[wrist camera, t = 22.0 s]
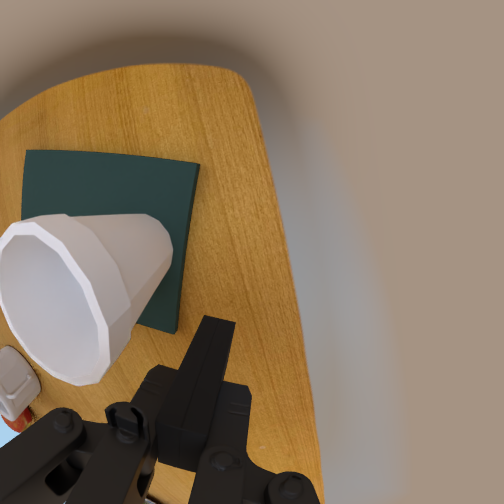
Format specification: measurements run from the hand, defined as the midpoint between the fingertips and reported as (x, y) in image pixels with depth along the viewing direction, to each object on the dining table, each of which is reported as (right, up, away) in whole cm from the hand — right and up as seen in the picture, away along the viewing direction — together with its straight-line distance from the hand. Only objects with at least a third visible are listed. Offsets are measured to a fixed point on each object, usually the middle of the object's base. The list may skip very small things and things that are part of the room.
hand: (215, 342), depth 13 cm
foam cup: (-8, +5, +11) cm, 14 cm away
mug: (-39, -17, +20) cm, 47 cm away
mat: (-15, +6, +12) cm, 20 cm away
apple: (-50, -30, +24) cm, 63 cm away
